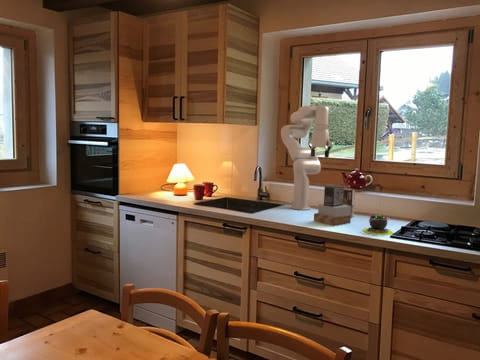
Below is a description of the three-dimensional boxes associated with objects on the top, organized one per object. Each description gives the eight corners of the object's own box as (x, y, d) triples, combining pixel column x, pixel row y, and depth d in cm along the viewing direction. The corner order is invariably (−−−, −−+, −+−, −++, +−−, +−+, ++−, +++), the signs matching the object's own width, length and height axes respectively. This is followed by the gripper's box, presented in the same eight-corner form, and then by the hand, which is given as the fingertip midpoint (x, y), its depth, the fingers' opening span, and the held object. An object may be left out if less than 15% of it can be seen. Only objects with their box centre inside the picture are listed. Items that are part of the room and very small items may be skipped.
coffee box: (354, 216, 261) (355, 189, 259) (351, 218, 255) (353, 190, 253) (338, 214, 265) (340, 188, 263) (335, 216, 259) (337, 189, 258)
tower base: (313, 222, 242) (314, 213, 241) (329, 219, 251) (329, 211, 250) (334, 227, 231) (335, 217, 231) (350, 224, 240) (350, 215, 240)
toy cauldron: (370, 227, 231) (371, 206, 230) (398, 232, 222) (399, 210, 220) (356, 231, 220) (358, 209, 219) (385, 236, 210) (387, 213, 209)
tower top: (318, 213, 241) (318, 204, 241) (332, 211, 249) (333, 203, 248) (335, 217, 232) (335, 207, 231) (349, 215, 239) (350, 206, 239)
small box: (333, 203, 246) (334, 184, 245) (343, 205, 242) (344, 186, 241) (322, 205, 238) (323, 186, 237) (333, 207, 234) (334, 187, 233)
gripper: (305, 127, 260) (303, 156, 262) (329, 127, 248) (328, 158, 250) (312, 127, 266) (311, 156, 267) (337, 127, 253) (335, 157, 255)
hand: (319, 156), depth 259 cm, fingers open, 9 cm apart
